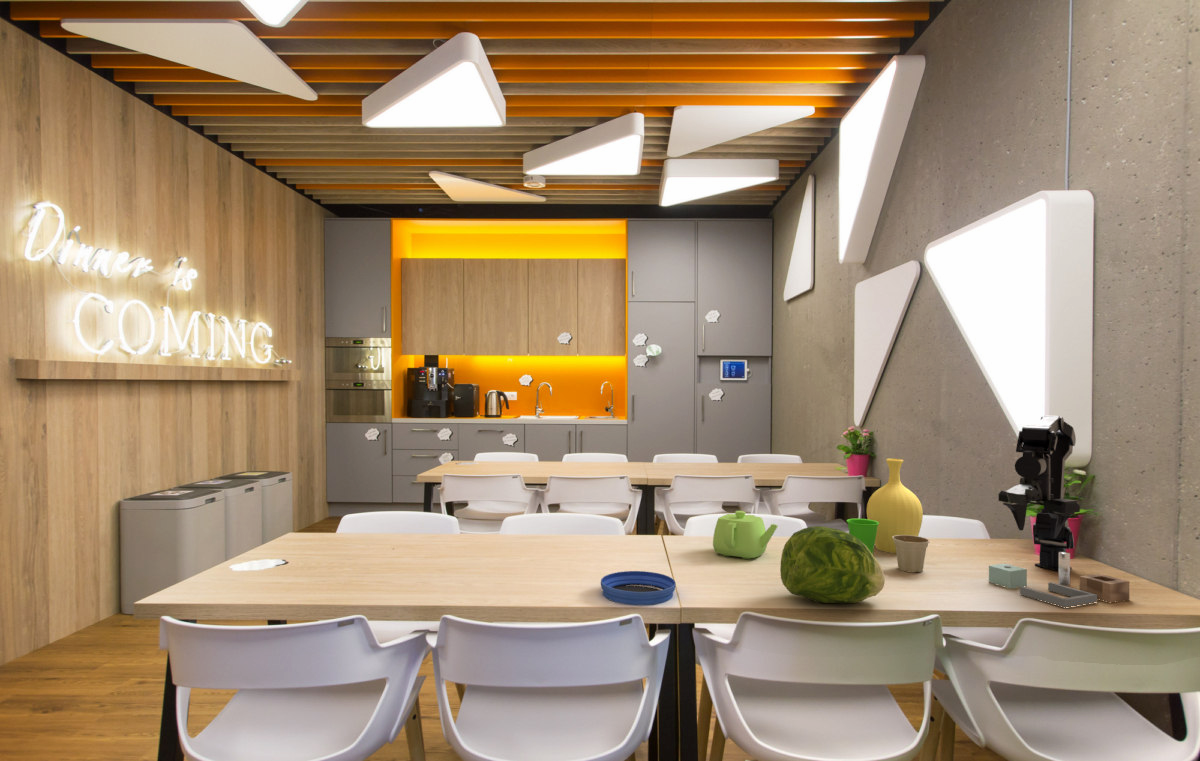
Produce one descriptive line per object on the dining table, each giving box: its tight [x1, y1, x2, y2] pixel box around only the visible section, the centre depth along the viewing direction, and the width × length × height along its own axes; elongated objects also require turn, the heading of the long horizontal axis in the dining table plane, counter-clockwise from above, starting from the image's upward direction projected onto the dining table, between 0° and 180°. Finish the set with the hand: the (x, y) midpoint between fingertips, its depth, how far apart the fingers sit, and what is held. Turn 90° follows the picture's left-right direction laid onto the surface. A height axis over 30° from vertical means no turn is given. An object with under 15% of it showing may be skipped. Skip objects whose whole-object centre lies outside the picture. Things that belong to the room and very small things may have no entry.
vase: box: [866, 458, 924, 554], centre depth 211 cm, size 16×16×28 cm
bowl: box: [600, 570, 677, 606], centre depth 164 cm, size 18×18×4 cm
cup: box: [845, 518, 879, 556], centre depth 199 cm, size 9×9×11 cm
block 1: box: [988, 563, 1028, 589], centre depth 174 cm, size 6×6×5 cm
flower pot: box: [892, 535, 930, 573], centre depth 187 cm, size 9×9×9 cm
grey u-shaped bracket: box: [1019, 581, 1098, 608], centre depth 162 cm, size 11×11×2 cm
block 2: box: [1079, 573, 1130, 603], centre depth 164 cm, size 7×7×4 cm
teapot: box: [712, 510, 779, 560], centre depth 202 cm, size 18×20×13 cm
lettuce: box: [779, 525, 886, 604], centre depth 160 cm, size 18×23×19 cm
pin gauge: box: [1058, 551, 1071, 586], centre depth 175 cm, size 2×2×8 cm
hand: (1037, 534), depth 177 cm, fingers open, 9 cm apart
